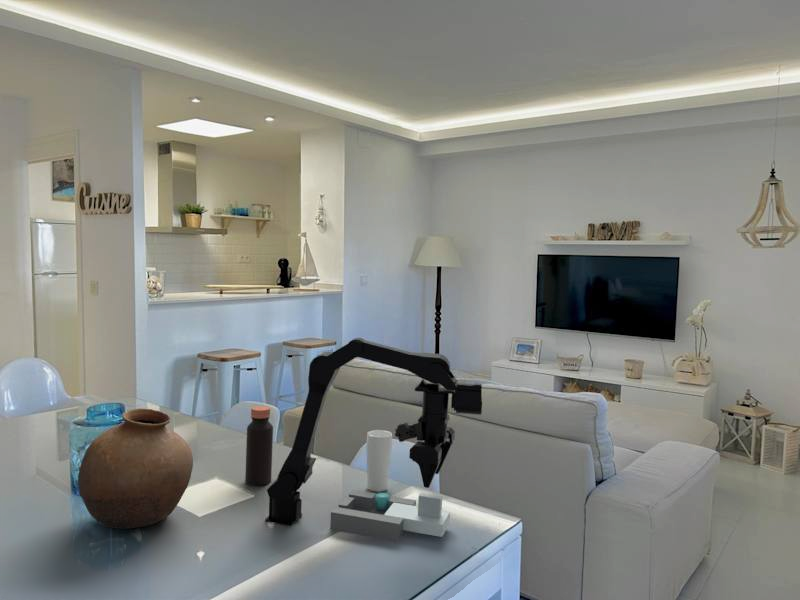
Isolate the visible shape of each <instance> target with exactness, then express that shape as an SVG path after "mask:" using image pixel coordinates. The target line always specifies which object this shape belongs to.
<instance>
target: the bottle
mask: <svg viewBox="0 0 800 600" xmlns="http://www.w3.org/2000/svg"><path fill="white" fill-rule="evenodd" d="M250 417H251V418H250V419H251V422H250V423H249V424H248V425H247V427H246V445H245V446H246V450H245V477H244V479H245V481H244V482H245V483H246V484H247V485H248V486H253V487H256V486H257V487H259V486H260V487H261V486H262V487H263V486H264V485H265V486H266V485H268V484H269V483H271V482H272V470H273V469H272V468H273V467H272V465H273V441H274V440H273V439H274V435H273V434H274V426H273V424H272V423H270V421H269V419H270V417H271V407H269V406H265V405H264V406H263V405H258V406H253V407H251V410H250Z"/></svg>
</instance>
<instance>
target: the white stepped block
mask: <svg viewBox="0 0 800 600" xmlns="http://www.w3.org/2000/svg"><path fill="white" fill-rule="evenodd" d="M442 508H443V495H440V494H433V493H427V492H420V493H419V494H418V501H417V505H416V506H412V505H406V504H400V503H393V504H392V505H391V506H390V508H389V509H388V510H387V511H386V513H385V514H384V515H386V516H392V517H397V518H403V530H405V531H406V532H411V533H416V534H417V533H419V534H422V535H427V536H428V535H430V536H435V537H441V538H443V536H444V534H445V533H446V530H447V529H448V527H449V524H450V516H451V511H448V510H443V509H442Z"/></svg>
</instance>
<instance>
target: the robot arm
mask: <svg viewBox="0 0 800 600" xmlns="http://www.w3.org/2000/svg"><path fill="white" fill-rule="evenodd" d="M356 358H360V359H364V360H369V361H371V362H375V363H379V364H383V365H386V366H391V367H394V368H398V369H401V370H406V371H408V372H410V373H412V374H414V375H415V376H416V377H419V378H420V379H421V381H420V382H419V383H418V384H416V385H415V387H414V391H415V392H419V393H420V392H422V410H421V415H420V416H419V417H418V419H415V420H410V421H407V422H403V423H399V424H397V427H395V430H394V431H395V434H394V435H395V437H396V438H398V442H399V443H402V442H405V441H407V440H411V439H415V438H416V443H414V444H413V445H412V446H411V448H409V457H408V458H409V460H410V459H411V460H412V462H414V463H416V464H417V465H418V468H419V470H420V474H421V479H422V483H423V487H424V488H427V489H428V488H430V486H431V484H432V482H433V479H434V478H435V475H439V473H440V472H441V469H442V467H443V465H444V462H445V461H446V458H447V456H448V454H449V452H450V450H451V448H452V445H453V442H454V440H455V435H456V434H455V430H454V429H453V427H450V426H448V421H449V420H450V414H449V396H450V395H451V401H450V402H451V403H450V406H451V407H450V408H451V409H453V411H455V413H456V414H463V415H475V416H477V415H478V416H482V413H483V410H482V409H483V397H482V393H483V392H482V391H483V390H482V388H483V385H482V383H463V382H458V379H457V377H455V375H454V374H453V373H452V370H451V362H450V361H449V359H448V358H447V356H445V355H443V354H441V353H433V352H432V353H431V352H412V351H408V350H404V349H400V348H396V347H393V346H390V345H384V344H382V343H378V342H374V341H369V340H365V339H364V338H362V337H355V338H353V339H352V340H350V341H349V342H348V343H347V344H345V345H342V346H340V348H338V349H336V350H335V351H325V352H322V353H321V354H319V355H317V356H316V357H314V358H313V359H312V360H311V361H310V363H309V370H308V376H307V377H308V378H307V379H308V380H307V382H308V383H307V384H308V385H307V386H308V393H307V395H306V400H305V403H304V407H303V410H302V413H301V417H300V420H299V424H298V427H297V431H296V434H295V438H294V440H293V445H292V447H291V450H290V452H289V454H288V455H287V457H286V459H285V461H284V462H283V464H282V467H281V469H280V470H279V471H278V472H279V473H278V475H277V477H276V479H275V480H274V481H273V483H271V484H270V486H268V488H267V489H266V492H267V495H268V498H269V499H268V500H269V501H268V516H266V518H265V519H264V521H265V522H266V523H273V524H277V525H281V526H288V527H290V526H293V524H294V523H296V522H297V521H298V520H299V519H301V517H302V516H303V513H302V503H303V502H302V499H301V492H300V491H298V490H300V488H301V487H302V485H303V484H306V483H307V482H308V480H309V479H310V477H311V476H312V475H313V467H314V465H315V463H316V461H317V457H313V456H312V455H311V453H312V452H311V451H312V450H311V449H312V446H313V442H314V439H315V435H316V432H317V429H318V425H319V422H320V418H321V415H322V412H323V411H322V410H323V408H324V405H325V401H326V398H327V394H328V392H329V391H330V388H331V387H332V386H333V383H334V381H335V379H336V377H337V375H338V374H339V372H340V369H341V368H342V367H344V365H346V364H348V363H349V362H351V361H352V360H354V359H356ZM426 381H427V382H426ZM428 382H429V383H428ZM440 386H441V387H440ZM448 439H449V440H448Z"/></svg>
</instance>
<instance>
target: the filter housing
mask: <svg viewBox="0 0 800 600" xmlns="http://www.w3.org/2000/svg"><path fill="white" fill-rule="evenodd" d="M376 494H377V493H376V492H367V491H361V490H354V489H353V490H351V491H350V492H349V494H348V496H345V498H344V499H342V500H341V501H340V502H339V503H338V506H335V507H334V508H333V509H332V510H331V511H330V525H329V527H330V528H329V529H331V531H336V530H337V532H342V533H347V534H353V535H359V536H364V537H369V538H374V539H381V540H386V541H389V542H395V543H399V542H400V541H401V539H402V538H403V536H404V534H405V533H406V532H407V531H405V530H403V518H397V517H392V516H386V515H384V514H385V513H386V511H387V510H388V509H389V508H390V506H391V505H392V504H393V503H400V504H406V505H412V506H417V500H416V499H410V498H405V497H399V496H398V497H397V496H392V497H390V500H389V508H388V509H387V510H379V509H376V508H375V501H376Z"/></svg>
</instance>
